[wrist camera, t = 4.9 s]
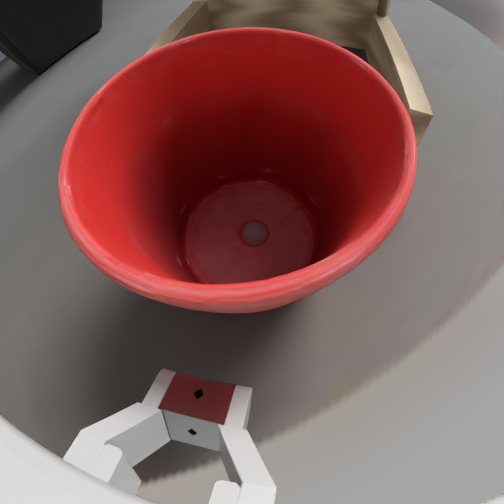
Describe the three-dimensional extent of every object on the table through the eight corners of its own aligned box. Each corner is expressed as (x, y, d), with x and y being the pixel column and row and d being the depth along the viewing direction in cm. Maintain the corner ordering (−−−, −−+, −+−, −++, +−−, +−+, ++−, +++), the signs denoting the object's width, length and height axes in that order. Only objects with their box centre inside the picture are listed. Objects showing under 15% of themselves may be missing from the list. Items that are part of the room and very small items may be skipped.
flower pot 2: (374, 207, 17) (438, 78, 8) (288, 380, 13) (320, 410, 4) (225, 142, 19) (199, 14, 10) (124, 278, 16) (8, 188, 7)
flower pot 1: (7, 78, 32) (-29, 21, 16) (82, 20, 37) (58, -39, 21) (28, 94, 27) (-23, 11, 11) (128, 20, 32) (101, -62, 16)
